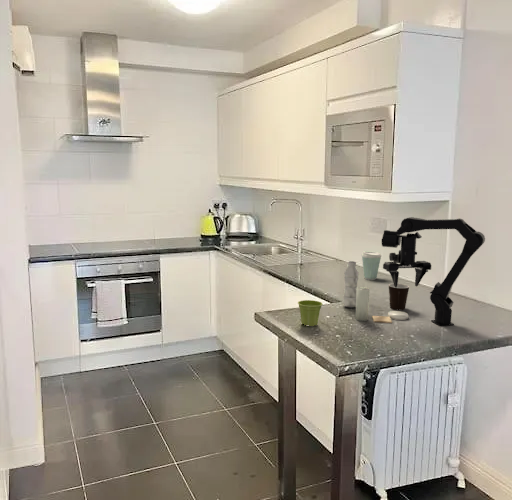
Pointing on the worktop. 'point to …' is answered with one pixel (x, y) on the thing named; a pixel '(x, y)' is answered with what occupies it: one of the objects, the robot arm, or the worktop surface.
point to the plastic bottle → (350, 285)
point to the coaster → (382, 319)
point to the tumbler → (362, 304)
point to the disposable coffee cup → (370, 264)
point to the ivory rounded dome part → (398, 315)
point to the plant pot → (309, 312)
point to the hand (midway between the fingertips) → (406, 286)
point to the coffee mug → (398, 296)
